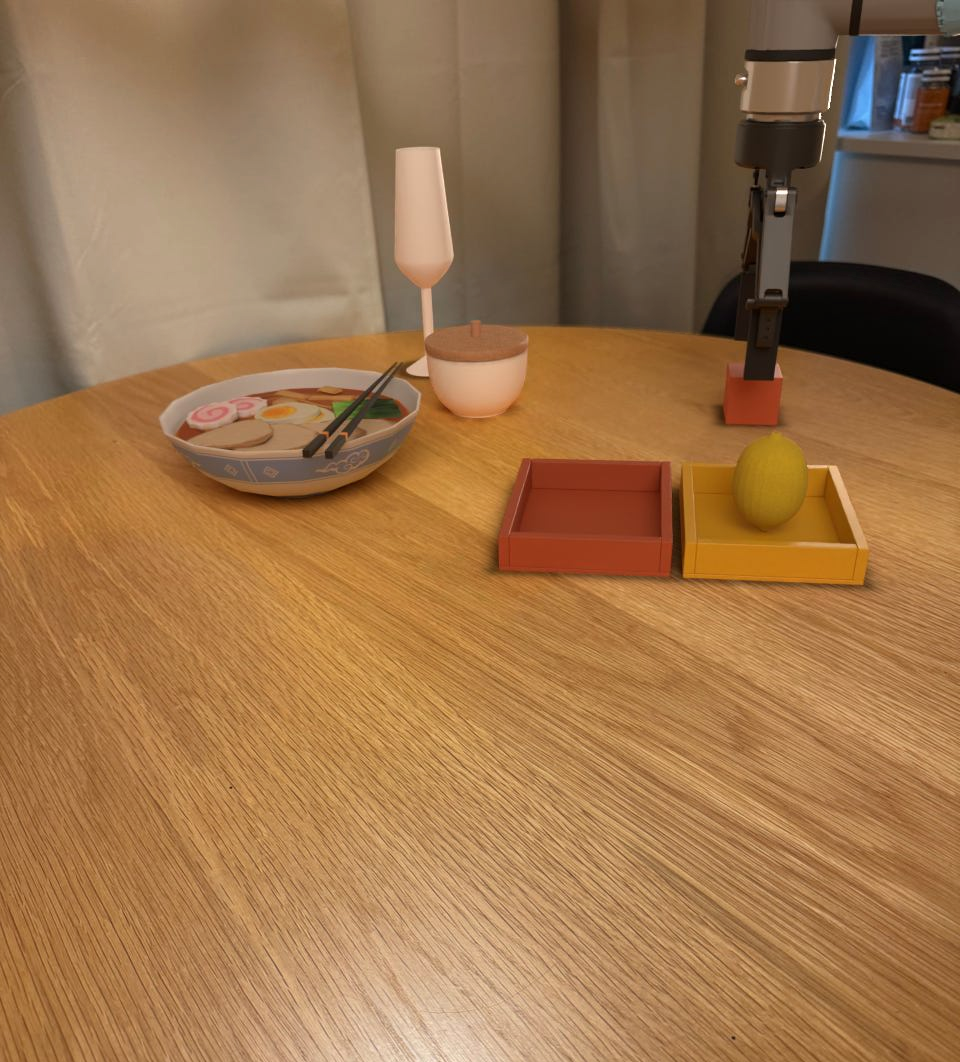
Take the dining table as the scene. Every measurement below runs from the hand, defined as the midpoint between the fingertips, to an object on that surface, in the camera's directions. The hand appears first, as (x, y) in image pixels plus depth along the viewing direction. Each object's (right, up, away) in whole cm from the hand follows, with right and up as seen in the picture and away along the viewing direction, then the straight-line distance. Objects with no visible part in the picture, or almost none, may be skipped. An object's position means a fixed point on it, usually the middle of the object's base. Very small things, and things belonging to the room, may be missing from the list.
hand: (752, 358), depth 99 cm
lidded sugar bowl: (-27, -3, +8) cm, 28 cm away
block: (+1, -5, +3) cm, 6 cm away
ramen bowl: (-43, -14, -8) cm, 46 cm away
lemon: (-5, -19, -21) cm, 29 cm away
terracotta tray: (-18, -19, -18) cm, 32 cm away
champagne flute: (-33, +4, +21) cm, 39 cm away
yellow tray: (-5, -20, -20) cm, 29 cm away
